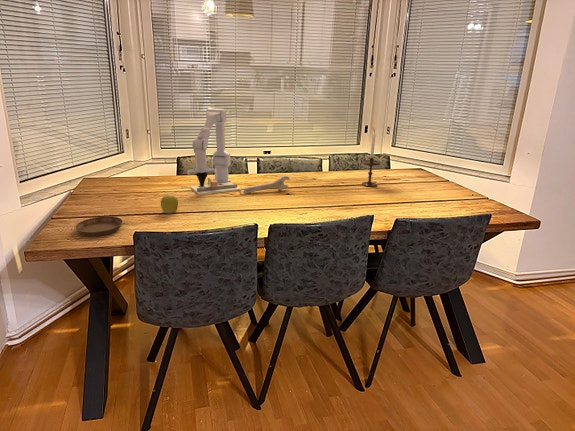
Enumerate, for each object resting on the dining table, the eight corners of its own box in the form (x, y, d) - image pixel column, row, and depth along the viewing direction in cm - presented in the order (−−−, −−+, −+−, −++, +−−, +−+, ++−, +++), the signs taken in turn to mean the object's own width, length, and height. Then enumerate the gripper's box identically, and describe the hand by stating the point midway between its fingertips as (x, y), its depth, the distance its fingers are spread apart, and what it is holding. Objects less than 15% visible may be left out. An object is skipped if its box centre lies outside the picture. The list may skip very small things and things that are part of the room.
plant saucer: (87, 242, 154) (86, 234, 153) (69, 230, 165) (68, 223, 164) (131, 230, 167) (130, 223, 166) (111, 220, 178) (110, 213, 177)
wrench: (240, 198, 223) (289, 188, 232) (241, 199, 221) (291, 188, 231) (238, 184, 220) (288, 174, 230) (239, 185, 218) (289, 175, 228)
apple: (171, 214, 183) (165, 193, 181) (160, 216, 187) (154, 195, 186) (184, 209, 189) (178, 189, 188) (173, 211, 194) (167, 191, 192)
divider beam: (192, 188, 228) (192, 184, 227) (230, 184, 238) (230, 180, 237) (197, 193, 219) (197, 189, 218) (237, 189, 230) (237, 184, 229)
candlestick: (358, 186, 242) (363, 127, 231) (362, 182, 252) (367, 125, 240) (376, 188, 238) (382, 128, 227) (379, 184, 248) (385, 126, 236)
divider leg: (206, 184, 231) (205, 177, 229) (211, 184, 232) (210, 177, 231) (212, 189, 221) (212, 182, 220) (217, 189, 223) (217, 181, 221)
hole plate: (190, 187, 230) (190, 186, 229) (230, 183, 240) (230, 181, 240) (198, 195, 216) (198, 193, 216) (240, 190, 227) (240, 188, 227)
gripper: (189, 164, 209) (190, 189, 213) (216, 162, 215) (217, 186, 220) (185, 161, 215) (187, 186, 219) (212, 159, 221) (213, 183, 226)
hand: (202, 186), depth 220 cm, fingers closed
